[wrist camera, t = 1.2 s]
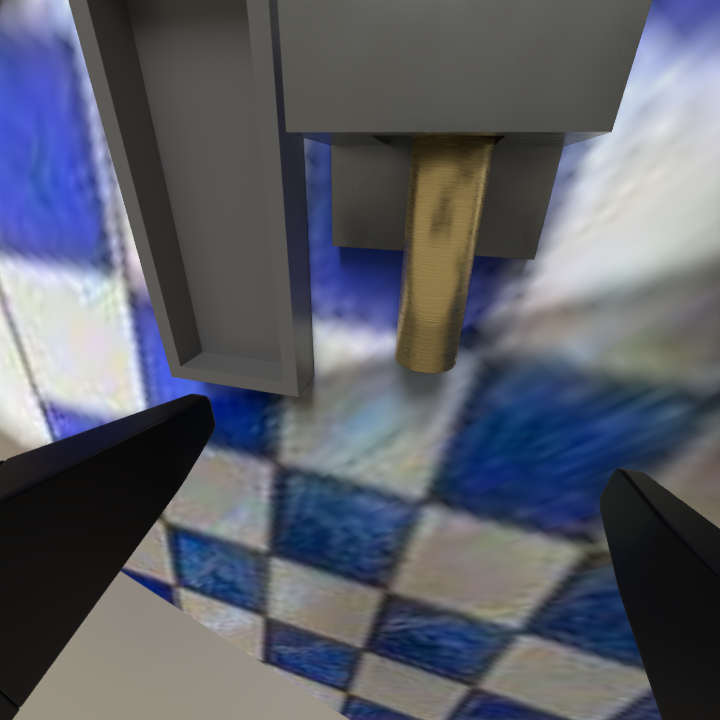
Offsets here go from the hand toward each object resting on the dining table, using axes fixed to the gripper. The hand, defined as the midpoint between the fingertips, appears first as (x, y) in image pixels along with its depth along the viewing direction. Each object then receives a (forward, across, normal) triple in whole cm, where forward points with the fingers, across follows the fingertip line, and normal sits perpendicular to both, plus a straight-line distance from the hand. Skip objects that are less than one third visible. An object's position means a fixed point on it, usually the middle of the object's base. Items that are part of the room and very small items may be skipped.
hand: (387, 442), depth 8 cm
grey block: (+11, 0, -8) cm, 14 cm away
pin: (+9, 0, -4) cm, 10 cm away
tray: (+11, +10, -4) cm, 15 cm away
